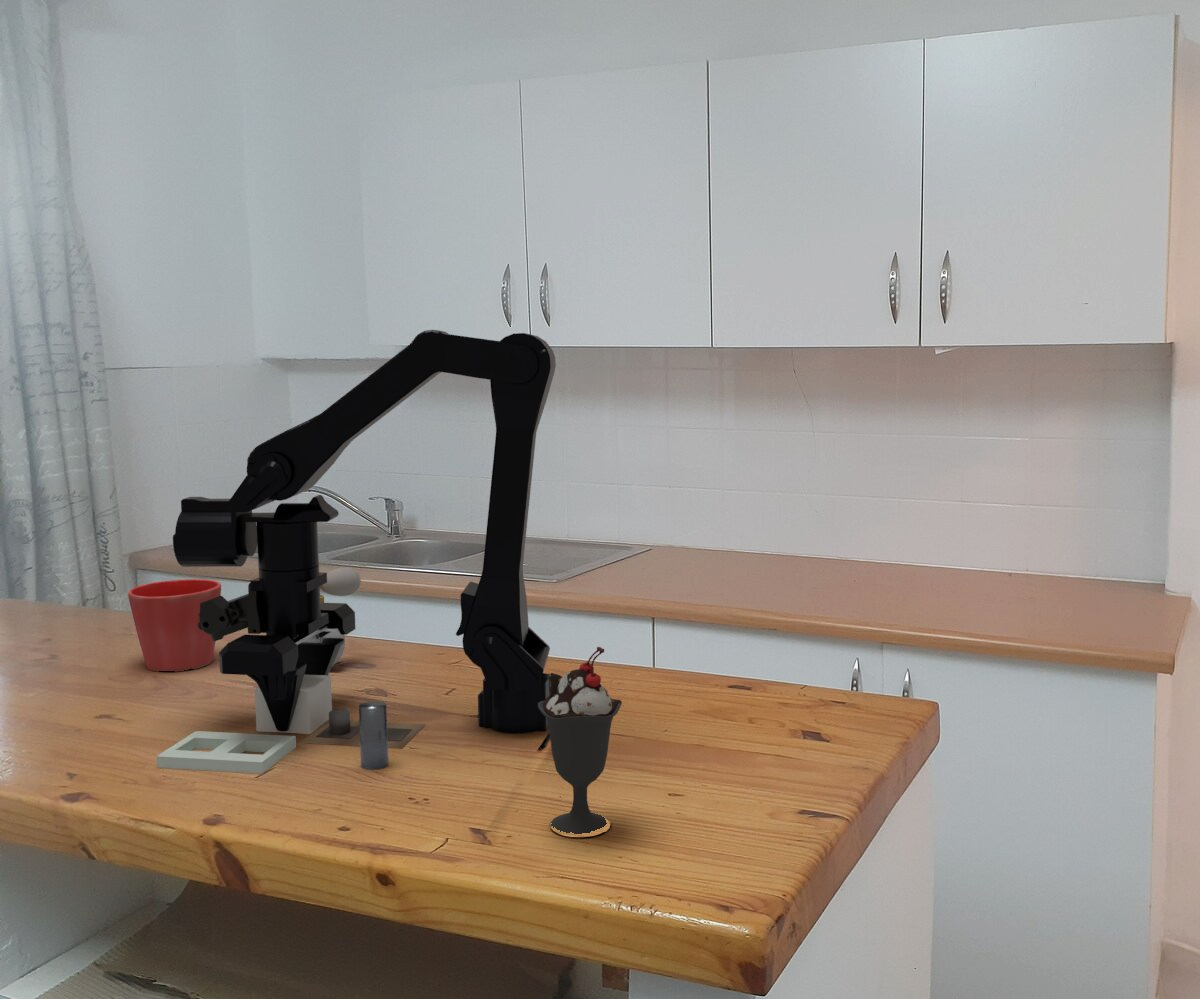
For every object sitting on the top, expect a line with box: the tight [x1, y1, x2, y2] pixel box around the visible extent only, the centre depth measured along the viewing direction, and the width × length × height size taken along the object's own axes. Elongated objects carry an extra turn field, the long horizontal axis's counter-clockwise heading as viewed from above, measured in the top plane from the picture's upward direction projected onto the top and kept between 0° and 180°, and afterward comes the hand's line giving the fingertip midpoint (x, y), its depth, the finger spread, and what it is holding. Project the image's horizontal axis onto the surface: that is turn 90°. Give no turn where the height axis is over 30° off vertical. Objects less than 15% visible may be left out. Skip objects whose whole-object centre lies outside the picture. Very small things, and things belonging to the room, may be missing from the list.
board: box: [300, 708, 427, 750], centre depth 112 cm, size 10×7×4 cm
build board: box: [155, 730, 297, 775], centre depth 106 cm, size 10×7×2 cm
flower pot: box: [127, 578, 222, 672], centre depth 143 cm, size 11×11×10 cm
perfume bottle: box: [320, 566, 361, 667], centre depth 141 cm, size 8×10×12 cm
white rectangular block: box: [254, 675, 333, 735], centre depth 115 cm, size 6×6×4 cm
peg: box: [358, 700, 389, 771], centre depth 104 cm, size 2×2×7 cm
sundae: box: [538, 646, 623, 834], centre depth 93 cm, size 7×7×15 cm
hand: (295, 721), depth 116 cm, fingers closed on white rectangular block, 5 cm apart
